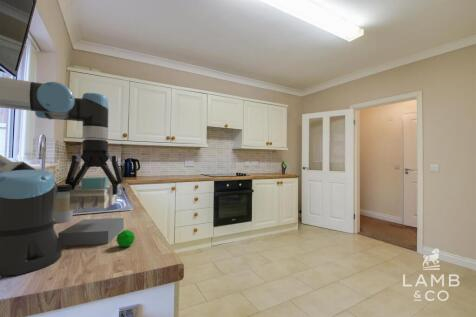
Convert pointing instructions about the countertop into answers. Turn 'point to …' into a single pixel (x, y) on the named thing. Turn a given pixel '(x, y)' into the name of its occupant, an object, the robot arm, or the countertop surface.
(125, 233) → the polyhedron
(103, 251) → the countertop surface
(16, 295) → the countertop surface
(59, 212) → the coffee cup
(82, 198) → the pallet
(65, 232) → the dock
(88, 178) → the teal block
